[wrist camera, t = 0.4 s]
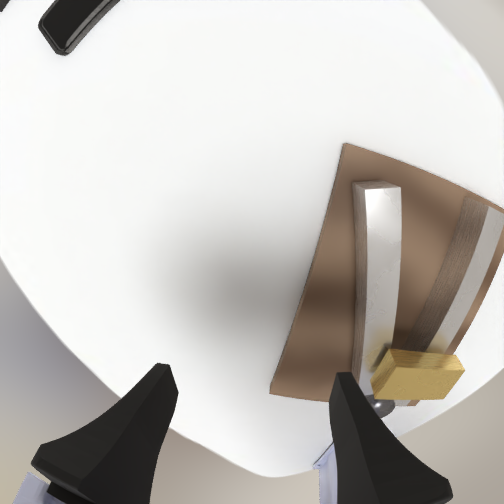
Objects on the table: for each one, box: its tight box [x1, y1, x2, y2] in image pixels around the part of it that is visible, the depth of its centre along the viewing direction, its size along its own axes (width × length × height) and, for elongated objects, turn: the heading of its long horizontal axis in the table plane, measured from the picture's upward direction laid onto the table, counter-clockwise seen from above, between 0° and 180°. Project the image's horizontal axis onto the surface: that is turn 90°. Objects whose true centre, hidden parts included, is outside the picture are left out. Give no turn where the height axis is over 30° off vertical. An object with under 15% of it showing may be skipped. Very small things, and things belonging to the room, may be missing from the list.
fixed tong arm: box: [365, 197, 504, 418], centre depth 17 cm, size 18×4×4 cm, turn 169°
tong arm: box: [352, 180, 402, 395], centre depth 17 cm, size 15×2×3 cm, turn 9°
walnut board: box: [269, 143, 504, 406], centre depth 19 cm, size 21×16×1 cm
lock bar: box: [370, 349, 465, 400], centre depth 15 cm, size 3×6×2 cm, turn 79°
